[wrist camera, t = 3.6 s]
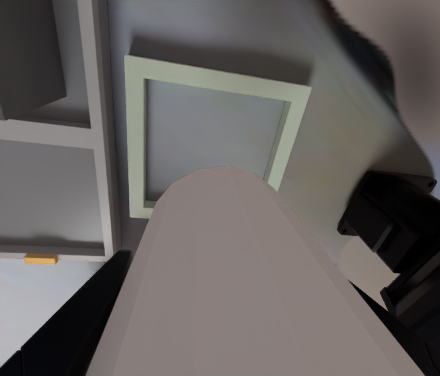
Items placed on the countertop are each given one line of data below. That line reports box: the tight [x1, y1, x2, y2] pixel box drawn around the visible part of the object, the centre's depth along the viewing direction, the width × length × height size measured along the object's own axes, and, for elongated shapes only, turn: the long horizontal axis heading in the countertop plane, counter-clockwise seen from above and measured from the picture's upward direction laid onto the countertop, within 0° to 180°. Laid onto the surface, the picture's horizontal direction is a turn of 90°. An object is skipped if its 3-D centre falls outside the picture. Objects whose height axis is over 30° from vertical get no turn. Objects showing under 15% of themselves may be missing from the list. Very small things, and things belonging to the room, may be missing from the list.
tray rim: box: [124, 54, 312, 219], centre depth 17 cm, size 11×11×1 cm
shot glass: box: [86, 166, 425, 376], centre depth 7 cm, size 7×7×7 cm
